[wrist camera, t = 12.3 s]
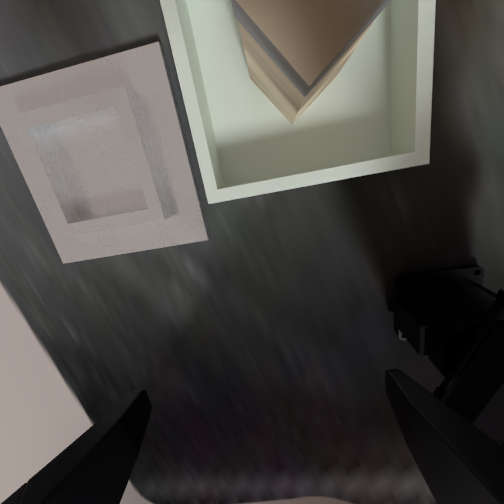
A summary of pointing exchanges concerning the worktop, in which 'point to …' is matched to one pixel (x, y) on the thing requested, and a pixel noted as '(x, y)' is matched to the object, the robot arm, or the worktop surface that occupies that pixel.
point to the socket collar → (105, 155)
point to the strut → (300, 45)
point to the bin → (315, 116)
